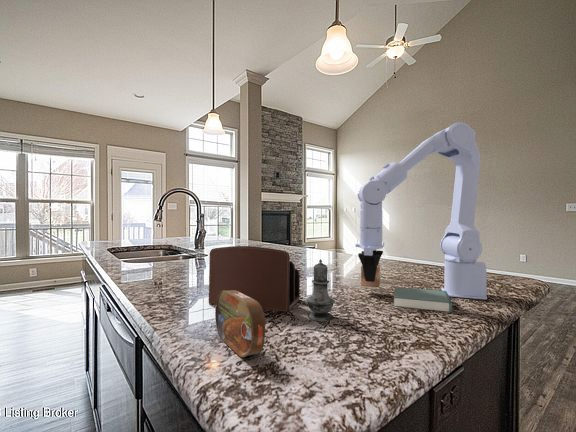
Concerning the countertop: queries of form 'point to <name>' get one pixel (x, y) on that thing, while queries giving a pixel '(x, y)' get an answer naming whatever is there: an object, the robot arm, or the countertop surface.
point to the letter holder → (255, 276)
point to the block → (371, 284)
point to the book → (422, 299)
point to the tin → (240, 322)
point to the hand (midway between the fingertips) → (370, 279)
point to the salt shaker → (320, 295)
